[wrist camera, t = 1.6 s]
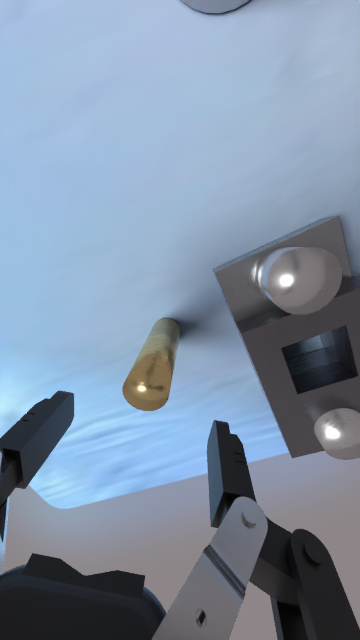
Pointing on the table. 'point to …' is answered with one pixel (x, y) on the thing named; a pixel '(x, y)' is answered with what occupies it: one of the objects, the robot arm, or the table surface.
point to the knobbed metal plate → (302, 334)
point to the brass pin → (153, 368)
